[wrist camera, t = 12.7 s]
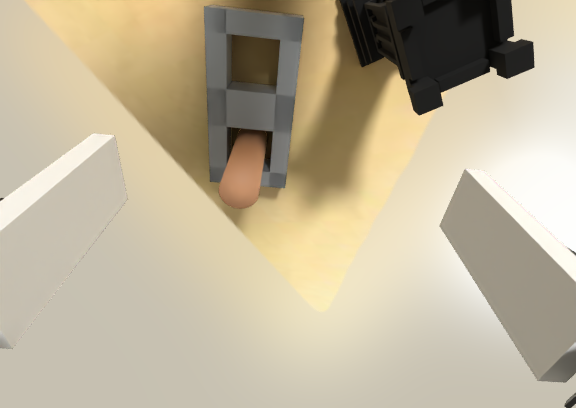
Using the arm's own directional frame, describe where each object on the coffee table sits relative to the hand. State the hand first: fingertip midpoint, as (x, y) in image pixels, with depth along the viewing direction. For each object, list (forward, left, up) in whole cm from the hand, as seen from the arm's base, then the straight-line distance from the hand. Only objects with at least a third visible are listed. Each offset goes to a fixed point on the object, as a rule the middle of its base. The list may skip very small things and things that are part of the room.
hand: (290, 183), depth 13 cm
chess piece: (-5, +10, -31) cm, 33 cm away
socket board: (+6, -4, -31) cm, 32 cm away
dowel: (+11, -4, -31) cm, 33 cm away
